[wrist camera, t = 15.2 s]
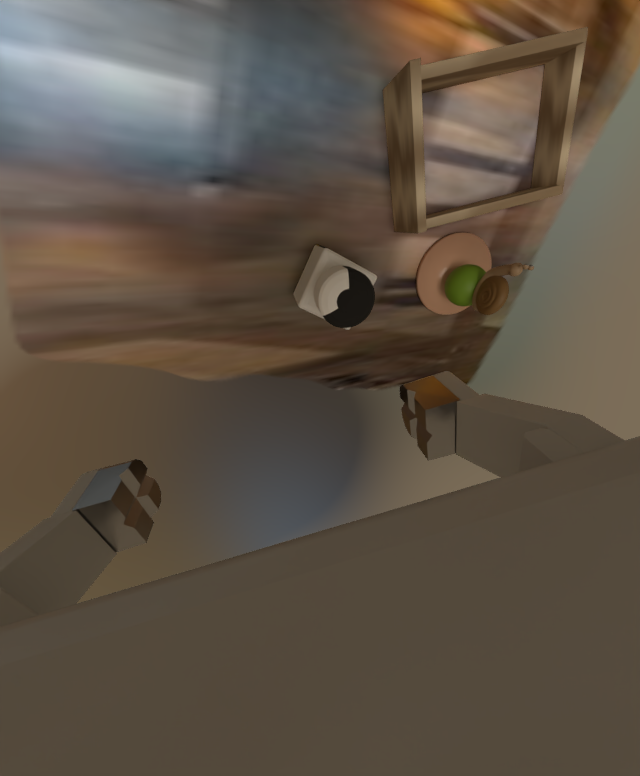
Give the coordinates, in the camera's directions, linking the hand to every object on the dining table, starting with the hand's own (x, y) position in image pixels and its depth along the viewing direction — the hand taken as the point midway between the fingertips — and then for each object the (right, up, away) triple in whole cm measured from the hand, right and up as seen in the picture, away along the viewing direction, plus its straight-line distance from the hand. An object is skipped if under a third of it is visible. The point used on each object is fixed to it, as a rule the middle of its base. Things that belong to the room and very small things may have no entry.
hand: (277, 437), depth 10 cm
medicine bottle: (+2, +16, +32) cm, 36 cm away
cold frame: (+19, +31, +28) cm, 45 cm away
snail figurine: (+21, +17, +34) cm, 44 cm away
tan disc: (+20, +18, +35) cm, 44 cm away
